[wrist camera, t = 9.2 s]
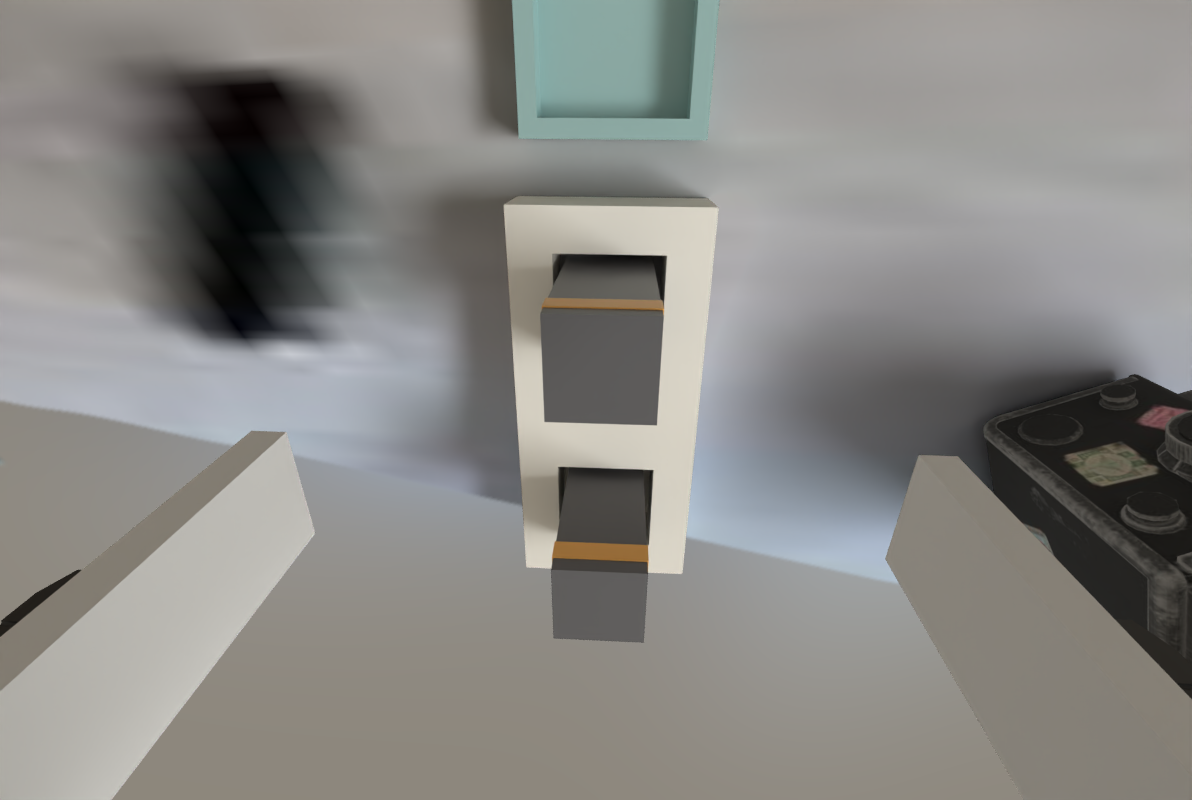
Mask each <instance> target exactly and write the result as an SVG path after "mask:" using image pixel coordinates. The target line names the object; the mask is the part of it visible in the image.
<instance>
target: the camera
mask: <svg viewBox="0 0 1192 800" xmlns="http://www.w3.org/2000/svg"><path fill="white" fill-rule="evenodd" d="M983 433H984V437H985V438H986V442H987V449H988V455H989V462H990V469H991V476H992V483H993V490H994V495H995V496H996V497H997V498H998V499H999V500H1000V501H1001V502H1002V503H1003V504H1004V505H1005V506H1006V507H1007V508H1008V509H1009V510H1010V511H1011V512H1012V513H1013V514H1014V515H1015V516H1016V517H1017V518H1018V519H1019V521H1020V522H1021V523H1022V524H1023V525H1024V526H1025V527H1026V528H1027V529H1028V530H1029V531H1030V532H1031V533H1032V534H1033V535H1034V536H1035V537H1036V538H1037V539H1038V540H1039V541H1040V542H1041V543H1042V544H1043V545H1044V546H1045V548H1046V549H1047V550H1048V551H1049V552H1050V553H1051V554H1052V555H1053V556H1054V557H1055V558H1056V559H1057V560H1058V561H1059V562H1060V563H1061V564H1062V565H1063V566H1064V567H1065V568H1066V569H1067V570H1068V571H1069V572H1070V573H1071V575H1072V576H1073V577H1074V578H1075V579H1076V580H1077V581H1078V582H1079V583H1080V584H1081V585H1082V586H1083V587H1084V588H1085V589H1086V590H1087V591H1088V592H1089V593H1090V594H1091V595H1092V596H1093V597H1094V598H1095V599H1096V600H1097V602H1098V603H1099V604H1100V605H1101V606H1102V607H1103V608H1104V609H1105V610H1106V611H1107V612H1108V613H1109V614H1110V615H1111V616H1112V617H1113V618H1114V619H1122V620H1133V621H1134V622H1136V623H1137V624H1139V625H1140V626H1142V627H1143V628H1145V629H1146V630H1148V631H1149V632H1151V633H1152V634H1154V635H1155V636H1157V637H1158V638H1160V639H1161V640H1163V641H1164V642H1166V643H1167V644H1168V645H1170V646H1171V647H1173V648H1174V649H1176V650H1177V651H1178V652H1179V653H1180V654H1181V655H1182V656H1183V657H1184V658H1185V659H1186V660H1187V661H1188V662H1189V663H1190V664H1191V665H1192V390H1190V391H1187V392H1183V393H1180V394H1176V393H1174V392H1172V391H1170V390H1168V389H1166V388H1164V387H1162V386H1160V385H1158V384H1156V383H1153V382H1151V381H1149V380H1147V379H1145V378H1143V377H1141V376H1139V375H1136V374H1134V375H1130V376H1129V377H1128V378H1124V379H1121V380H1117V381H1114V382H1111V383H1107V384H1104V385H1101V386H1097V387H1094V388H1091V389H1087V390H1084V391H1080V392H1077V393H1074V394H1070V395H1067V396H1064V397H1060V398H1057V399H1054V400H1050V401H1047V402H1043V403H1040V404H1037V405H1033V406H1030V407H1027V408H1023V409H1020V410H1016V411H1013V412H1010V413H1006V414H1003V415H1000V416H997V417H995V418H993V419H991V420H989V421H988V422H987V423H986V424H985V425H984V427H983Z"/></svg>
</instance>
